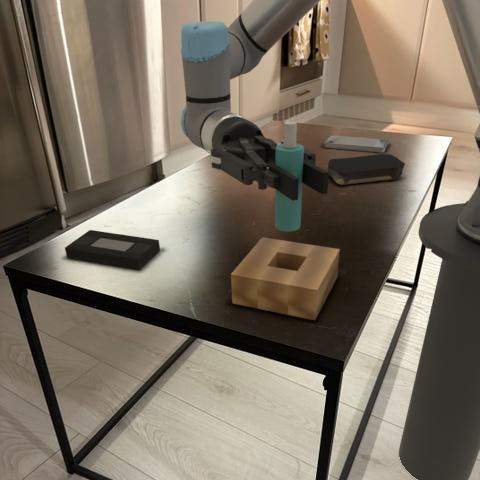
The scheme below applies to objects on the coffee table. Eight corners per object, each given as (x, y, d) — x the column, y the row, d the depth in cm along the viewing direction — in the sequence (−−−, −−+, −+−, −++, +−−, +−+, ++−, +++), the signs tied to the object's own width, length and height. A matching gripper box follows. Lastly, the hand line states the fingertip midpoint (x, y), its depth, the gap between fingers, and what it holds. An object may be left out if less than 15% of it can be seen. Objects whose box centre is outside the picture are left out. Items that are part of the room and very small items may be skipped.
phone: (383, 153, 131) (384, 148, 130) (323, 147, 136) (323, 142, 135) (388, 144, 137) (389, 139, 136) (330, 139, 142) (331, 134, 141)
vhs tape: (91, 239, 93) (89, 229, 92) (160, 250, 89) (159, 240, 88) (67, 258, 87) (64, 247, 86) (139, 270, 83) (137, 259, 82)
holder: (337, 277, 79) (339, 249, 76) (315, 320, 70) (317, 289, 67) (262, 264, 83) (262, 237, 81) (232, 303, 74) (230, 273, 71)
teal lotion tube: (294, 219, 73) (298, 117, 65) (304, 229, 70) (309, 124, 62) (271, 223, 72) (271, 120, 64) (280, 233, 69) (282, 127, 61)
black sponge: (388, 168, 121) (390, 153, 118) (404, 180, 114) (407, 163, 112) (323, 175, 118) (324, 159, 116) (336, 187, 111) (337, 171, 109)
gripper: (278, 156, 85) (362, 202, 67) (185, 172, 79) (251, 228, 62) (279, 109, 81) (369, 145, 63) (181, 123, 75) (249, 167, 57)
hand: (310, 186), depth 62 cm, fingers closed on teal lotion tube, 4 cm apart
